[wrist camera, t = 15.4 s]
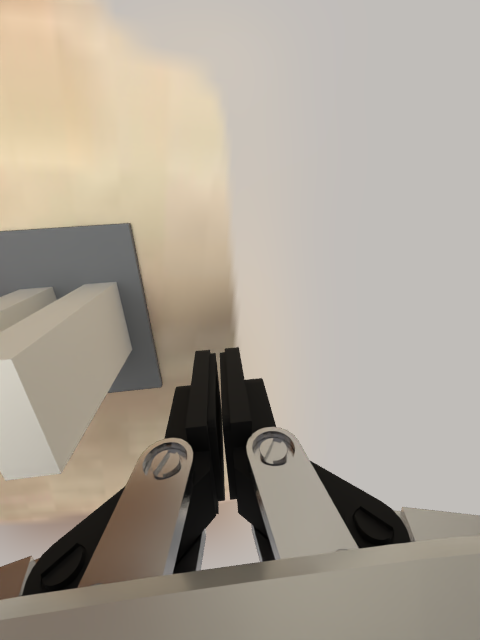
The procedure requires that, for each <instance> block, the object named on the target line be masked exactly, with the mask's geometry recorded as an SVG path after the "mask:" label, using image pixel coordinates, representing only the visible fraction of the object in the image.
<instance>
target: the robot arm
mask: <svg viewBox="0 0 480 640" xmlns="http://www.w3.org/2000/svg"><path fill="white" fill-rule="evenodd" d="M220 372H221V400H222V410H221V400H220V391H219V381H218V371H217V362H216V354H215V353H212V354H210V350H205V351H196V352H195V359H194V366H193V374H192V381H191V385H189V386H179V387H176V389H175V393H174V398H173V402H172V407H171V412H170V416H169V421H168V425H167V430H166V434H165V439H163V440H160V441H157V442H156V443H154V444H152V445H151V446H149V447H148V448H147V449H146V450H145V451H144V452H143V453H142V455H141V456H140V458H139V459H138V461H137V463H136V465H135V468H134V470H133V472H132V474H131V476H130V478H129V480H128V482H127V484H126V486H125V487H124V488H123V489H121V490H120V491H119V492H118V493H116V494H115V495H114V496H113V497H111V498H110V499H109V500H108V501H107V502H105V503H104V504H103V505H102V506H100V507H99V508H98V509H97V510H95V511H94V512H93V513H92V514H90V515H89V516H88V517H87V518H86V519H84V520H83V521H82V522H81V523H79V524H78V525H77V526H76V527H74V528H73V529H72V530H71V531H69V532H68V533H67V534H66V535H64V536H63V537H62V538H61V539H59V540H58V541H57V542H56V543H54V544H53V545H52V546H51V547H50V548H49V549H48V550H47V551H46V552H45V553H44V554H43V555H42V556H41V558H39V559H36V560H34V559H33V558H32V556H29V557H27V558H24V559H21V560H18V561H15V562H13V563H10V564H7V565H4V566H2V567H0V640H480V516H478V515H470V514H461V513H451V512H443V511H435V510H426V509H417V508H408V507H402V510H401V511H393V510H392V509H391V508H390V507H388V506H387V505H386V504H384V503H383V502H381V501H380V500H378V499H376V498H374V497H373V496H371V495H369V494H367V493H366V492H364V491H362V490H360V489H359V488H357V487H355V486H353V485H352V484H350V483H348V482H346V481H345V480H343V479H341V478H339V477H338V476H336V475H334V474H332V473H331V472H329V471H327V470H325V469H323V468H322V467H320V466H318V465H317V464H315V463H313V462H311V461H310V460H309V459H308V457H307V455H306V453H305V452H304V450H303V448H302V446H301V444H300V443H299V441H298V440H297V438H296V437H295V436H294V435H293V434H292V433H290V432H289V431H287V430H284V429H282V428H277V427H276V425H275V421H274V418H273V414H272V411H271V407H270V404H269V400H268V397H267V393H266V390H265V386H264V382H263V379H261V378H260V379H250V380H244V376H243V369H242V364H241V358H240V352H239V347H237V348H226V349H225V352H223V353H220ZM222 423H223V431H222ZM223 435H224V444H225V454H226V463H227V473H228V482H229V492H230V500H232V499H237V502H238V513H239V514H240V515H241V516H243V517H244V518H245V519H246V520H247V521H249V522H250V523H251V526H252V533H253V536H254V540H255V544H256V548H257V552H258V556H259V560H260V562H258V563H250V564H243V565H236V566H229V567H222V568H215V569H207V570H201V565H202V558H203V552H204V546H205V539H206V527H207V526H208V525H209V523H210V522H211V521H212V520H213V519H214V518H215V516H216V514H218V501H224V500H225V488H224V460H223Z"/></svg>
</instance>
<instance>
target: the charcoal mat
mask: <svg viewBox="0 0 480 640" xmlns="http://www.w3.org/2000/svg"><path fill="white" fill-rule="evenodd" d="M107 282H116V283H117V287H118V291H119V295H120V300H121V304H122V308H123V312H124V317H125V321H126V325H127V329H128V333H129V338H130V342H131V346H132V351H131V352H130V354H129V356H128V358H127V359H126V361H125V363H124V365H123V366H122V368H121V370H120V372H119V373H118V375H117V377H116V379H115V380H114V382H113V384H112V386H111V387H110V389H109V391H108V393H112V392H122V391H131V390H140V389H150V388H159V387H162V380H161V375H160V370H159V365H158V360H157V355H156V350H155V345H154V340H153V335H152V330H151V325H150V320H149V315H148V310H147V305H146V300H145V295H144V290H143V285H142V280H141V275H140V270H139V265H138V260H137V255H136V250H135V245H134V240H133V235H132V230H131V225H130V223H126V224H110V225H94V226H78V227H63V228H47V229H31V230H15V231H0V297H2V296H4V295H7V294H9V293H12V292H14V291H17V290H19V289H30V288H43V287H53V290H54V293H55V296H56V299H57V300H58V299H60V298H61V297H63V296H65V295H67V294H68V293H70V292H72V291H74V290H75V289H77V288H79V287H81V286H82V285H84V284H94V283H107Z"/></svg>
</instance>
